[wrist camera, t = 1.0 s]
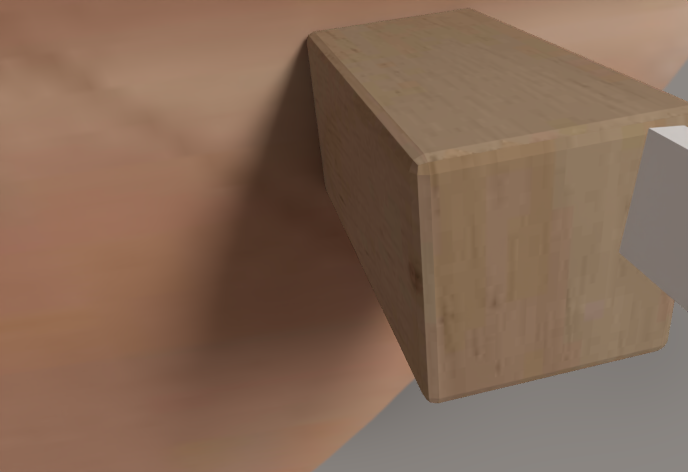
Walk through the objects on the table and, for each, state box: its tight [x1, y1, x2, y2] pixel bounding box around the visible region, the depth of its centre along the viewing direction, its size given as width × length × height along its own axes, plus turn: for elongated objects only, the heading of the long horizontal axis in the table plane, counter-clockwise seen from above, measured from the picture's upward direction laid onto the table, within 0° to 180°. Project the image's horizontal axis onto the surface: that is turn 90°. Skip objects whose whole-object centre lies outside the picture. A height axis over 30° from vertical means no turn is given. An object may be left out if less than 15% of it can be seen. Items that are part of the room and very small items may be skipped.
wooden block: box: [307, 8, 688, 403], centre depth 31 cm, size 10×10×20 cm
